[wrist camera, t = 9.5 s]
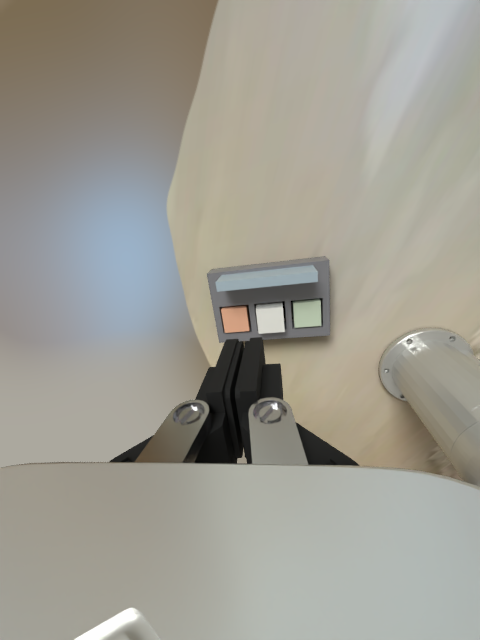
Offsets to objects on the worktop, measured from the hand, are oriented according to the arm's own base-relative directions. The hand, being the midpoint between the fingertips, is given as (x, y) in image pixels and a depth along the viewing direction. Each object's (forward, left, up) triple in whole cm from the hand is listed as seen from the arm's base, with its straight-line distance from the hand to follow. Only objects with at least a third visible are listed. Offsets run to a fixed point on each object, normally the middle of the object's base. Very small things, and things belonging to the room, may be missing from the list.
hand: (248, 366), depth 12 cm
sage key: (-5, +7, -27) cm, 28 cm away
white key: (0, +7, -26) cm, 27 cm away
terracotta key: (+5, +7, -27) cm, 28 cm away
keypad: (0, +5, -27) cm, 28 cm away
